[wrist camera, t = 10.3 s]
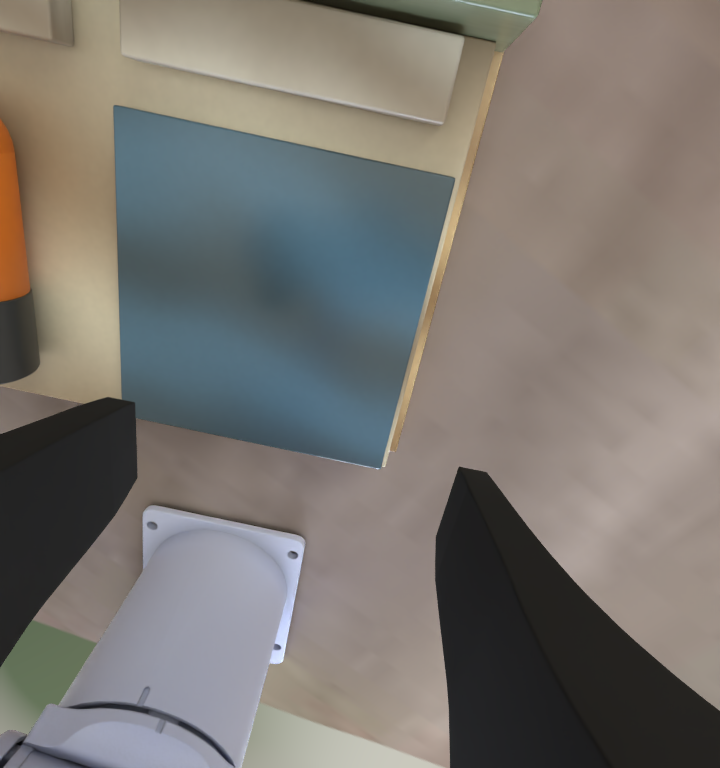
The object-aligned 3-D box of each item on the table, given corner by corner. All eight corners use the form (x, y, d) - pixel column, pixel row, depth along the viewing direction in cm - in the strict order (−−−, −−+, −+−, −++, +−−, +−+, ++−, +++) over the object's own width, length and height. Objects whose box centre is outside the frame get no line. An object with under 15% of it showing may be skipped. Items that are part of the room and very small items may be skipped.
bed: (396, 437, 21) (393, 518, 16) (-103, 332, 21) (-249, 384, 16) (509, 12, 14) (558, -53, 10) (-220, -146, 14) (-522, -289, 10)
